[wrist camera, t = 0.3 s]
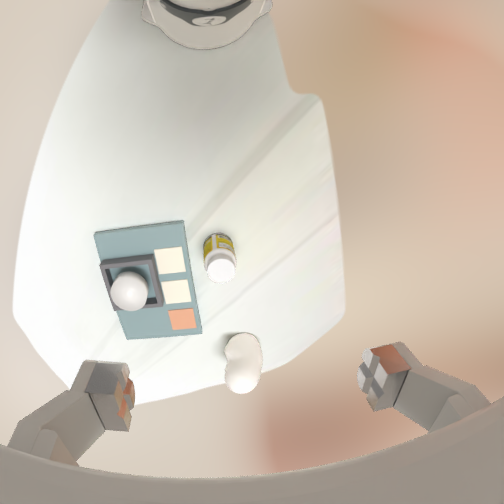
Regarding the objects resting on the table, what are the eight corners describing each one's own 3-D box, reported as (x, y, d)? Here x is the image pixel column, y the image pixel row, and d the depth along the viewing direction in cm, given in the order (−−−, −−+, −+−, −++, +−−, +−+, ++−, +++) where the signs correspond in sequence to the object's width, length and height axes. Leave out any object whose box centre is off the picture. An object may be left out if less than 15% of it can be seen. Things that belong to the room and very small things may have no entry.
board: (95, 232, 46) (89, 240, 43) (183, 220, 47) (182, 228, 44) (127, 335, 56) (125, 346, 53) (202, 329, 57) (202, 340, 54)
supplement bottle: (208, 262, 51) (209, 289, 44) (199, 237, 49) (199, 262, 41) (236, 254, 51) (242, 280, 44) (228, 228, 49) (233, 252, 42)
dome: (112, 268, 47) (105, 282, 43) (145, 264, 48) (141, 278, 44) (121, 298, 50) (115, 313, 46) (153, 295, 50) (150, 311, 46)
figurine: (221, 332, 58) (225, 378, 47) (260, 329, 59) (271, 375, 48) (221, 357, 61) (226, 402, 50) (258, 355, 62) (268, 399, 52)
